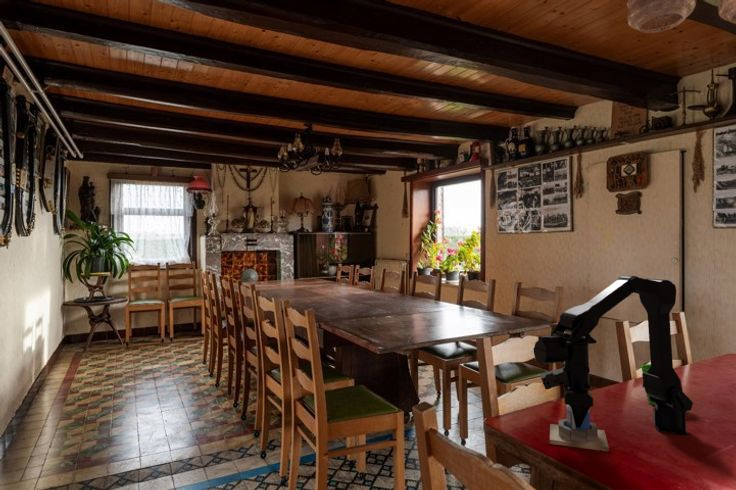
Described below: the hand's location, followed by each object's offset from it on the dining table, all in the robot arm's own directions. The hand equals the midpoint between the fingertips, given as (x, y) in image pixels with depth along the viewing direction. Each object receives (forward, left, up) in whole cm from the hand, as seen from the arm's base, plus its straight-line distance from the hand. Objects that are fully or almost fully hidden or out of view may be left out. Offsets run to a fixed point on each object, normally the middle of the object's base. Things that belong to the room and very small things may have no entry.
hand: (577, 422), depth 118 cm
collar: (0, 0, -4) cm, 4 cm away
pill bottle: (0, 0, -3) cm, 3 cm away
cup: (-24, -37, -4) cm, 44 cm away
